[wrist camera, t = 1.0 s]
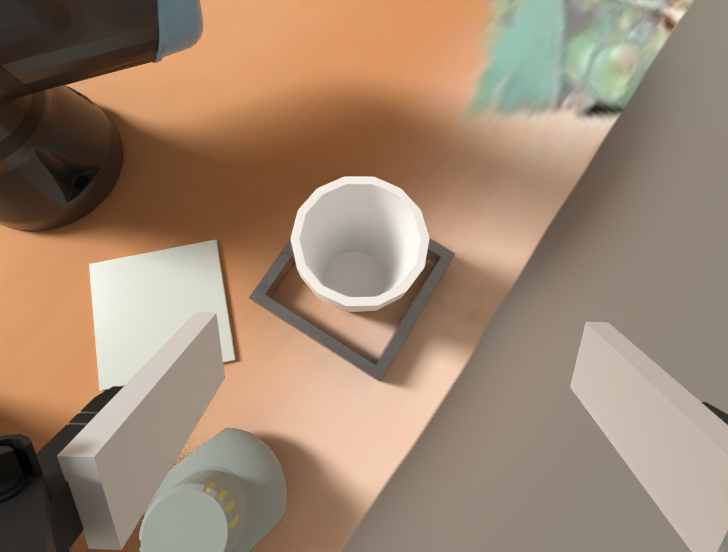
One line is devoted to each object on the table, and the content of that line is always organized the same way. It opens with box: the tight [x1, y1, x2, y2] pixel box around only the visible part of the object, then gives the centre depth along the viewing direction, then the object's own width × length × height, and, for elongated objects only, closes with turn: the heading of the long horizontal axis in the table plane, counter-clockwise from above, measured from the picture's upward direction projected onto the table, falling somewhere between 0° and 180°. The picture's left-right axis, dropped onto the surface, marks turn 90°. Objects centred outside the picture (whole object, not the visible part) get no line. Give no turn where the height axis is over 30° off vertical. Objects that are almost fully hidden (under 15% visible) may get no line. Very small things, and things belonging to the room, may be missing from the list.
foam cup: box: [291, 176, 429, 312], centre depth 33 cm, size 10×9×13 cm
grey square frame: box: [249, 181, 455, 381], centre depth 38 cm, size 14×14×2 cm
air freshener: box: [139, 428, 287, 552], centre depth 30 cm, size 11×8×10 cm
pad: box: [89, 239, 236, 391], centre depth 38 cm, size 12×12×1 cm
